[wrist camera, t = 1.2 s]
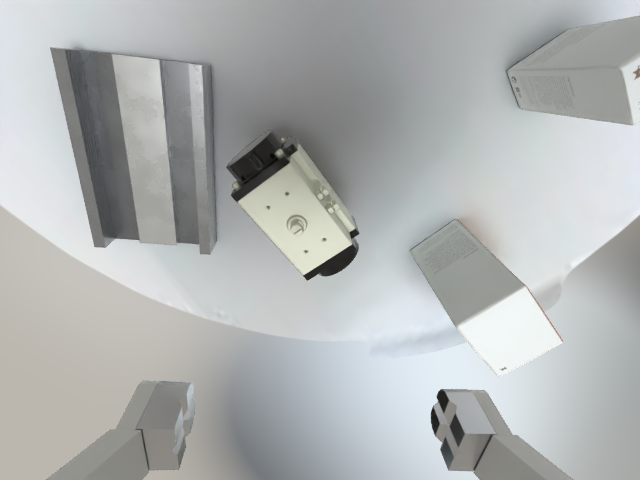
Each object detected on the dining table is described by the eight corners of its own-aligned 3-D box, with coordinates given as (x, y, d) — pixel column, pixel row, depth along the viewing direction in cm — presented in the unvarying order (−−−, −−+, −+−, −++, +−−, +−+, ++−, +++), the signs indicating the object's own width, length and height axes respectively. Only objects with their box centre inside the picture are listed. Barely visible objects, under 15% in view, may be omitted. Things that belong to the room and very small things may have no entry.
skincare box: (519, 111, 32) (630, 134, 21) (503, 68, 30) (615, 69, 20) (583, 69, 31) (737, 72, 20) (570, 21, 29) (731, -4, 18)
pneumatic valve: (312, 232, 37) (318, 301, 26) (240, 144, 32) (211, 184, 21) (355, 204, 36) (379, 264, 25) (286, 108, 31) (280, 131, 20)
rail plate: (74, 49, 28) (50, 47, 25) (210, 65, 29) (201, 65, 26) (109, 233, 36) (94, 246, 33) (216, 240, 37) (210, 254, 34)
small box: (489, 263, 40) (566, 344, 28) (443, 292, 42) (498, 380, 30) (456, 216, 37) (527, 285, 25) (407, 249, 39) (454, 329, 27)
